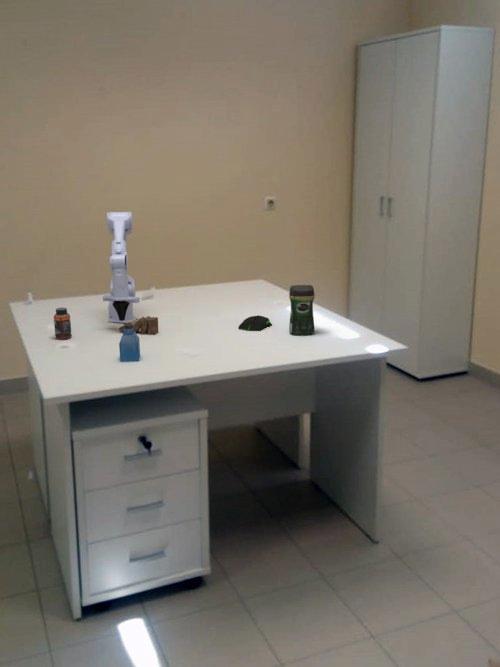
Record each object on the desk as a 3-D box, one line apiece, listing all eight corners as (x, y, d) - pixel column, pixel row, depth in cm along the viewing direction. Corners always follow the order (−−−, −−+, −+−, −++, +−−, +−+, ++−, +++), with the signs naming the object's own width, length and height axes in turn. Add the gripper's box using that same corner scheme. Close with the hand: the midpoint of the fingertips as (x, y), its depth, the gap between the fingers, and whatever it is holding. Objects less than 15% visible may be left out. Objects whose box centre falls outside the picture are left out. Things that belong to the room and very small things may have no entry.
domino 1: (130, 330, 274) (138, 319, 272) (134, 327, 278) (143, 316, 275) (133, 333, 274) (142, 322, 271) (138, 330, 277) (147, 320, 275)
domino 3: (149, 334, 272) (148, 319, 270) (153, 332, 276) (153, 317, 274) (154, 335, 271) (153, 319, 270) (158, 332, 275) (157, 317, 273)
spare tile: (118, 328, 275) (130, 321, 273) (123, 325, 279) (135, 318, 276) (121, 332, 275) (133, 325, 273) (126, 330, 279) (137, 323, 277)
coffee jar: (312, 330, 277) (313, 282, 272) (315, 335, 269) (316, 287, 264) (287, 330, 276) (288, 283, 271) (289, 336, 269) (290, 287, 264)
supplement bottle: (74, 336, 270) (72, 307, 267) (66, 340, 265) (63, 310, 262) (61, 335, 272) (59, 306, 269) (52, 339, 267) (49, 309, 264)
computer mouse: (277, 323, 289) (277, 313, 288) (263, 333, 274) (263, 323, 273) (251, 321, 293) (251, 311, 292) (236, 330, 278) (236, 320, 277)
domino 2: (139, 332, 273) (144, 318, 271) (143, 329, 277) (148, 315, 274) (143, 334, 273) (148, 320, 270) (148, 331, 276) (153, 318, 274)
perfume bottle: (121, 356, 245) (119, 322, 242) (140, 355, 245) (138, 321, 242) (120, 361, 239) (118, 327, 236) (138, 361, 240) (137, 326, 236)
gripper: (98, 286, 271) (100, 321, 274) (133, 288, 267) (134, 323, 270) (106, 283, 277) (108, 317, 281) (141, 284, 273) (142, 319, 277)
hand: (122, 320), depth 276 cm, fingers closed
